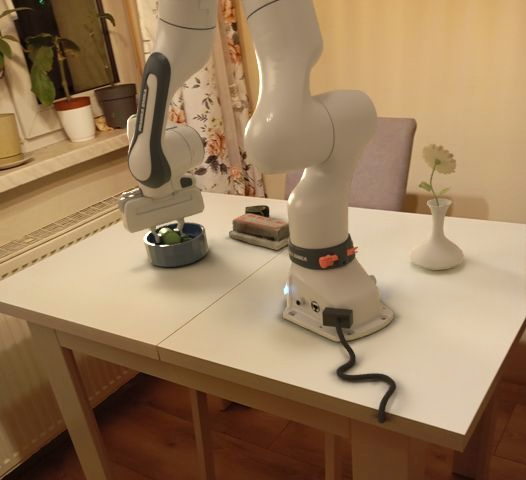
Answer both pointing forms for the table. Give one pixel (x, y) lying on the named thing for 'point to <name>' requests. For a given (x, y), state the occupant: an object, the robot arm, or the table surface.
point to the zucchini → (184, 238)
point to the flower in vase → (437, 217)
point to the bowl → (177, 246)
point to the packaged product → (261, 231)
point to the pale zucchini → (169, 236)
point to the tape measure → (258, 210)
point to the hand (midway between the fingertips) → (169, 238)
